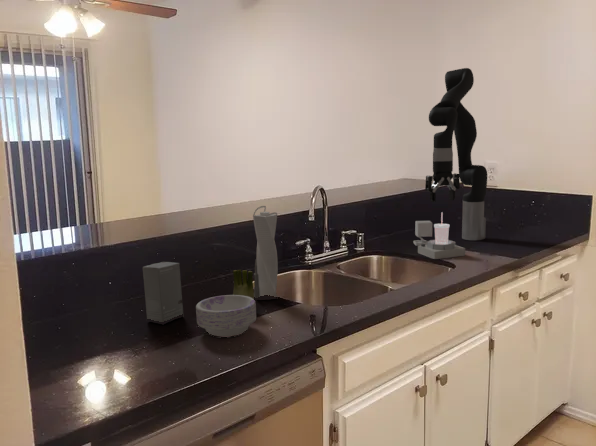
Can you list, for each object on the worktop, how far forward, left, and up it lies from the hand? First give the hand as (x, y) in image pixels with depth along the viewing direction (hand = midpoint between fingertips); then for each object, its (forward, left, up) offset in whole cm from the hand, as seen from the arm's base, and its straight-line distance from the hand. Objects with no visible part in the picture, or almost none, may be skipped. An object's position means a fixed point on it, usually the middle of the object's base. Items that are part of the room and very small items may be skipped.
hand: (442, 201), depth 216 cm
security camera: (-4, -20, -22) cm, 30 cm away
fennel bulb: (+90, +35, -22) cm, 99 cm away
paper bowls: (+98, +50, -22) cm, 112 cm away
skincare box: (+112, +34, -22) cm, 119 cm away
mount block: (0, 0, -22) cm, 22 cm away
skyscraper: (+80, +25, -22) cm, 87 cm away
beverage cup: (0, 0, -19) cm, 19 cm away
